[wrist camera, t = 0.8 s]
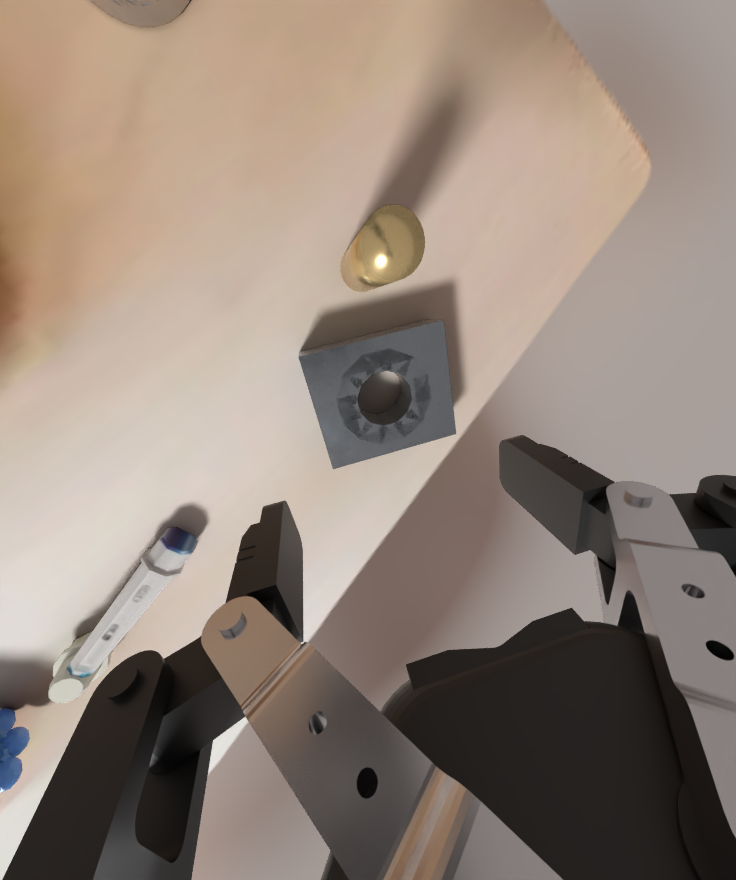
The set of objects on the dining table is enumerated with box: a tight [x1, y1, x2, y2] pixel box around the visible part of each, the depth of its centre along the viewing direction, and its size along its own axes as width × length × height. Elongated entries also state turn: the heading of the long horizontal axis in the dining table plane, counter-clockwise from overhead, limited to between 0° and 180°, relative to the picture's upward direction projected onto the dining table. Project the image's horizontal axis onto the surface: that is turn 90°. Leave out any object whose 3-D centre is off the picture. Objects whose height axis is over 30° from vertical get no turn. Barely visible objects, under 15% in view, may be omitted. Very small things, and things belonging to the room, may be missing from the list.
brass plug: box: [341, 204, 425, 292], centre depth 24 cm, size 4×4×12 cm
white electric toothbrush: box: [48, 527, 198, 704], centre depth 37 cm, size 5×7×25 cm
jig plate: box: [299, 319, 456, 469], centre depth 33 cm, size 12×14×4 cm
